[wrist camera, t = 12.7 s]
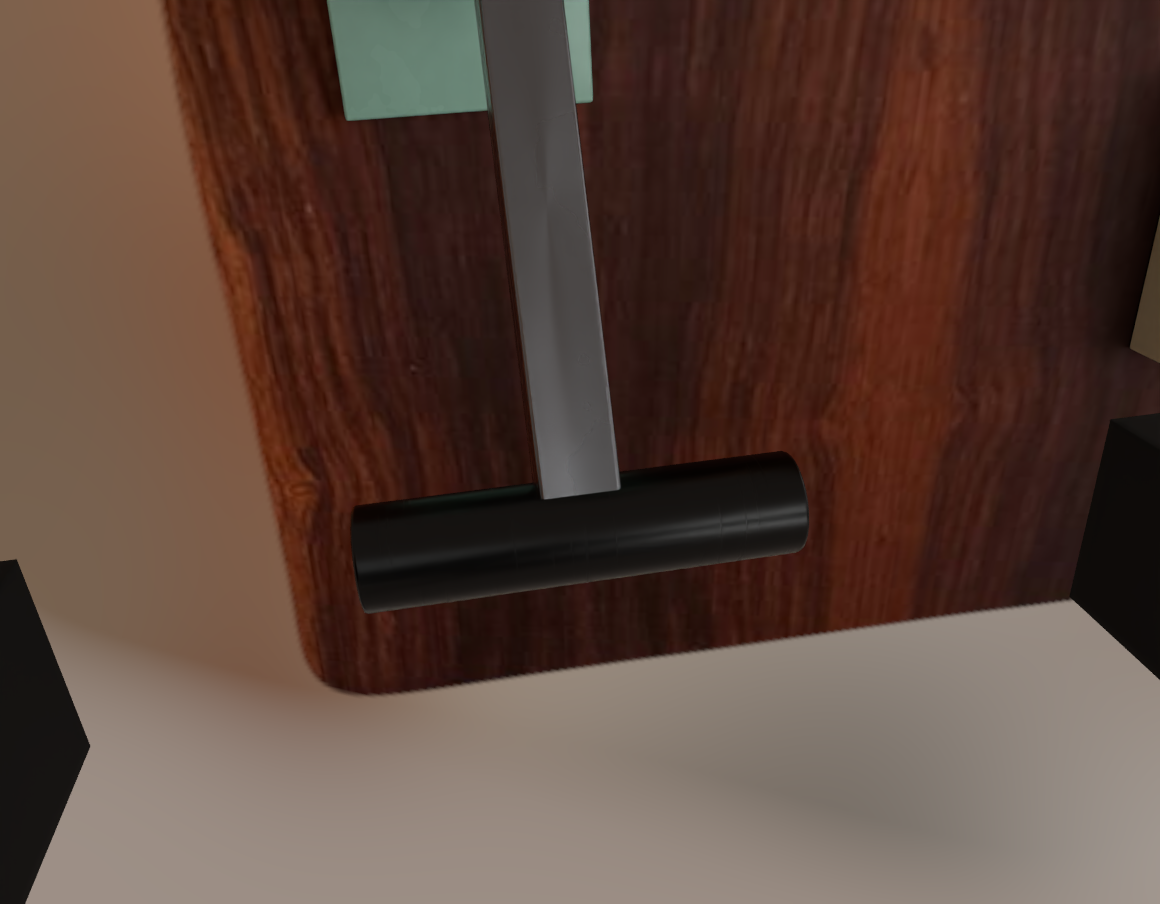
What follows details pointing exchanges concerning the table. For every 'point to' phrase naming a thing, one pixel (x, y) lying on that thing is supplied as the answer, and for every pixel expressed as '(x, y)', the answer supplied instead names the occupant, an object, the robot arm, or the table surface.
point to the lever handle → (562, 392)
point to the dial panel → (1149, 308)
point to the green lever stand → (427, 56)
